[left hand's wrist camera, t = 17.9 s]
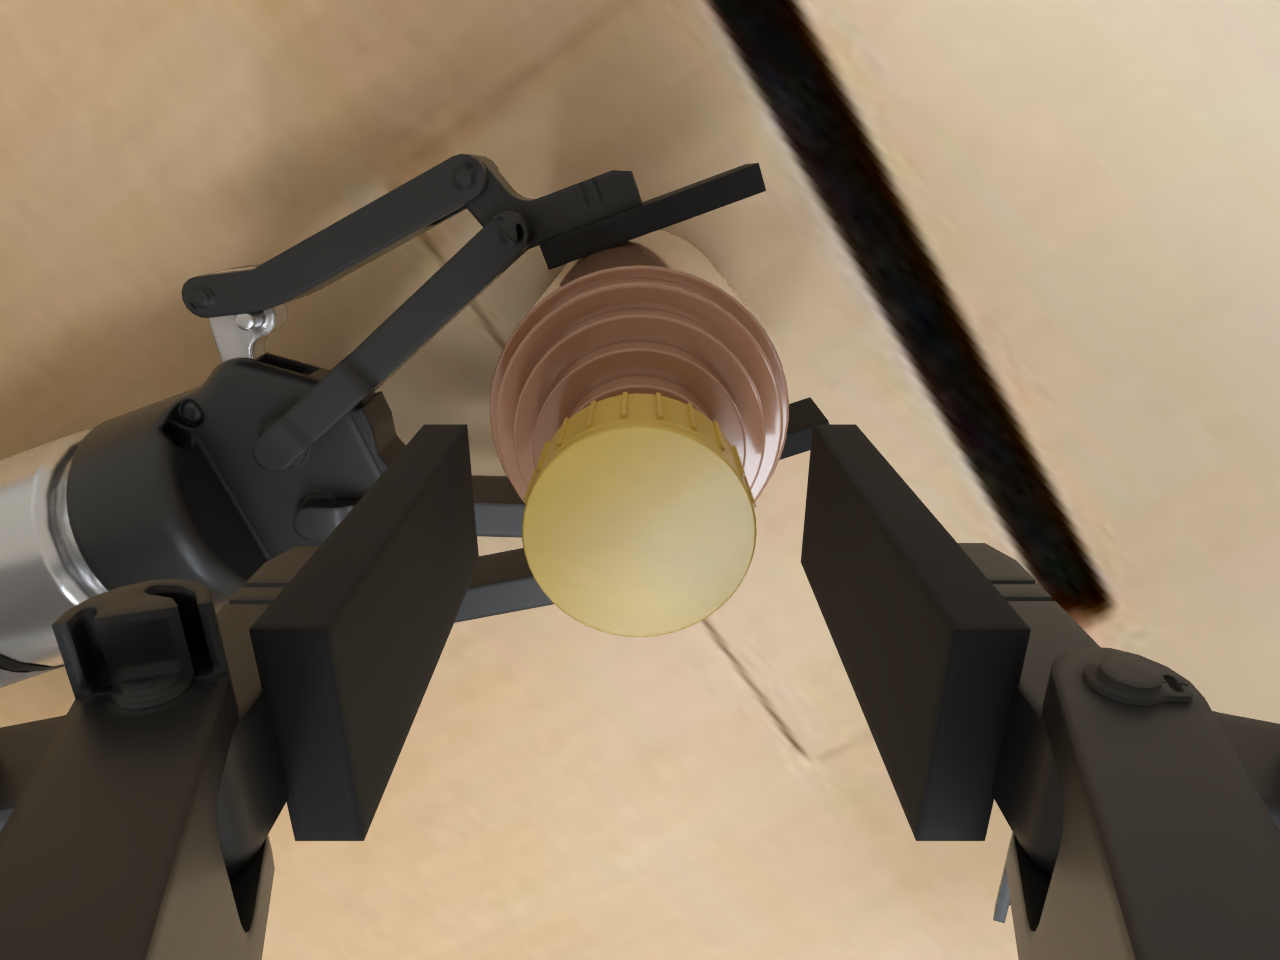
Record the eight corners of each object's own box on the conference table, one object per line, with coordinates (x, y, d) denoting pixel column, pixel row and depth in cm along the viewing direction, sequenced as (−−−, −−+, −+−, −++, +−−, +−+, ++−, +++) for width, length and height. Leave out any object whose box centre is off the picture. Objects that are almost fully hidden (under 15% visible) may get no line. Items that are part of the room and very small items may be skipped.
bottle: (685, 435, 32) (739, 743, 15) (523, 370, 31) (376, 619, 14) (761, 272, 29) (931, 413, 12) (587, 196, 28) (508, 231, 11)
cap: (495, 442, 14) (474, 481, 12) (695, 353, 13) (704, 380, 11) (589, 613, 15) (582, 670, 13) (776, 539, 14) (794, 589, 13)
